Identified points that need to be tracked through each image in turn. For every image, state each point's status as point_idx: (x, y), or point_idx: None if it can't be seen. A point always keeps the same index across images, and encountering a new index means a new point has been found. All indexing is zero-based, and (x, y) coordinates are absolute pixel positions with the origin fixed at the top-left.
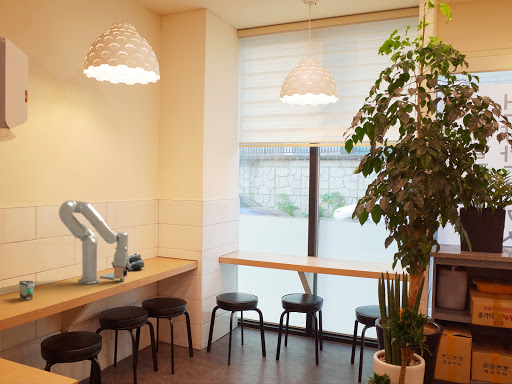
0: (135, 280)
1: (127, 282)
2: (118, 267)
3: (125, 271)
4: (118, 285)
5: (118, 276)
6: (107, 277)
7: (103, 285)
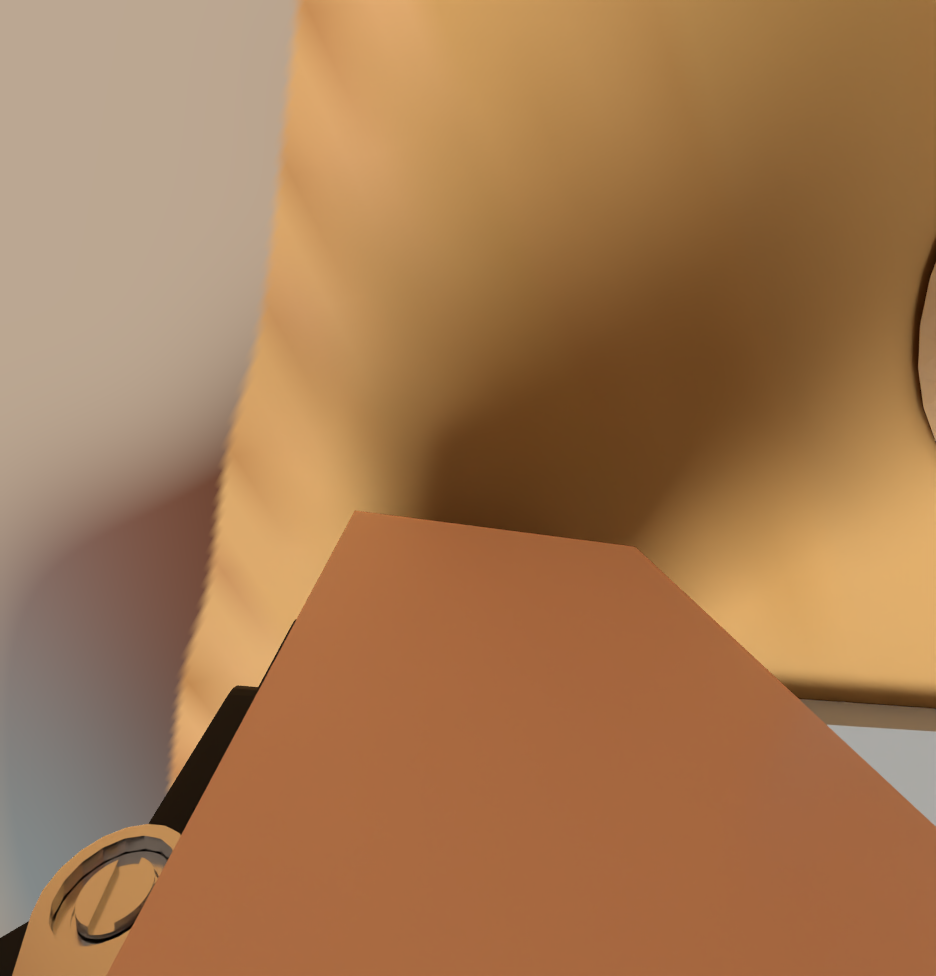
0: (173, 761)
1: (239, 542)
2: (652, 962)
3: (178, 812)
4: (283, 141)
5: (485, 551)
6: (835, 718)
7: (700, 31)
